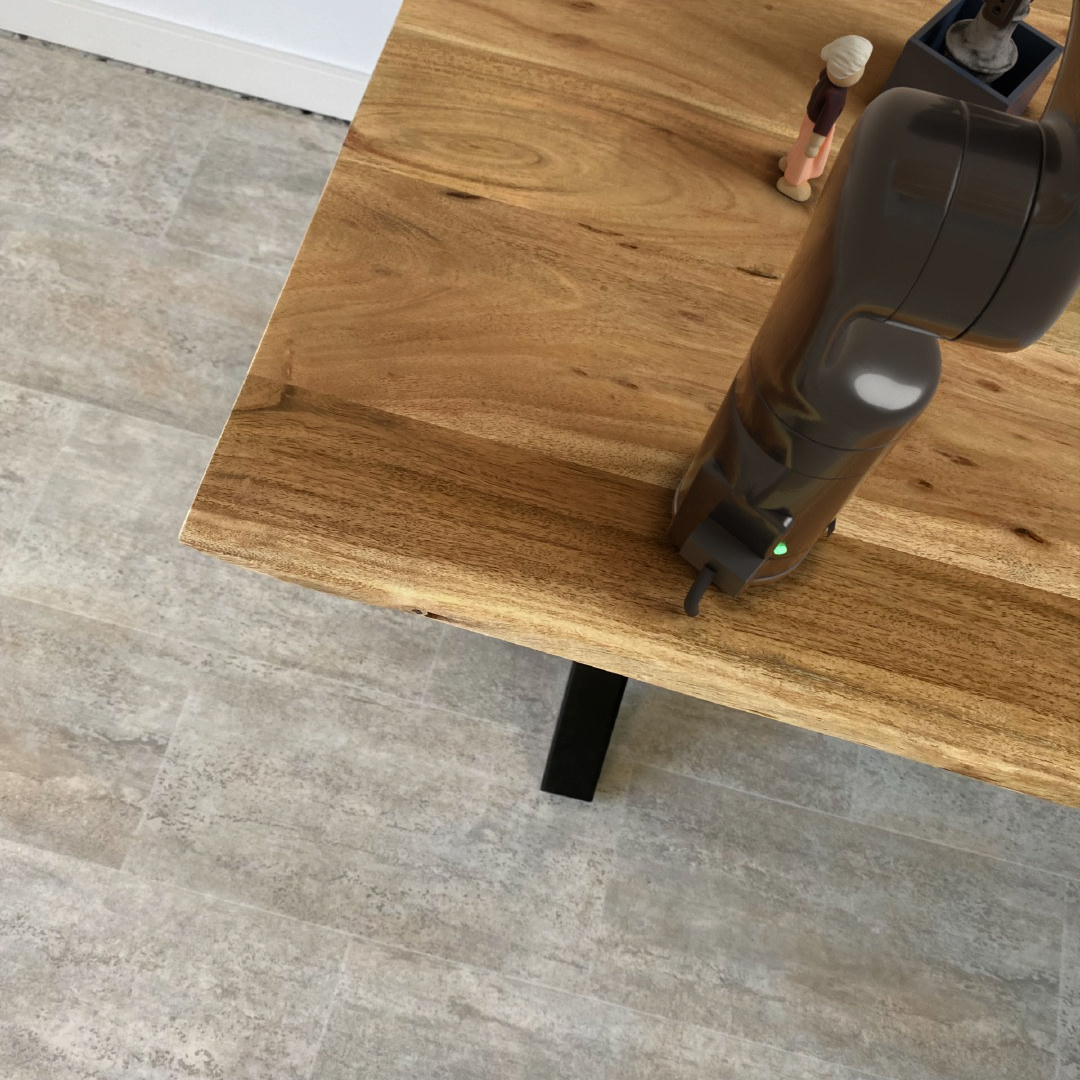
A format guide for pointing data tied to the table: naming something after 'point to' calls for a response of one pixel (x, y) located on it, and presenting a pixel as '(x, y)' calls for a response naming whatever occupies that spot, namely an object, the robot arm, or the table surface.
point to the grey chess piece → (983, 45)
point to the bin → (939, 75)
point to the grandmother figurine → (823, 114)
